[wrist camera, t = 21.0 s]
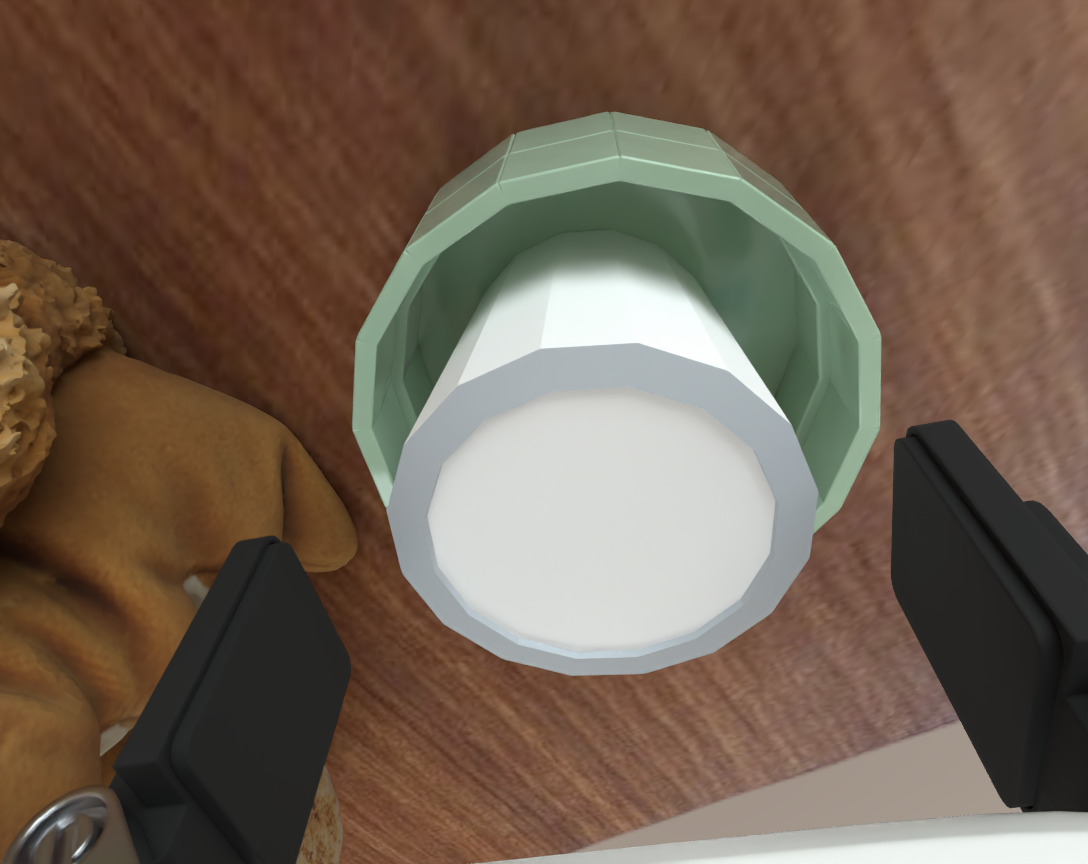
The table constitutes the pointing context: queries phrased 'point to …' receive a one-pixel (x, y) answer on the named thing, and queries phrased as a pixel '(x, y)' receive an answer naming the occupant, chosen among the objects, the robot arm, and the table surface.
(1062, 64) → the table surface
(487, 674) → the table surface
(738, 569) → the white round jar
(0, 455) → the stuffed squirrel
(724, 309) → the green bowl
